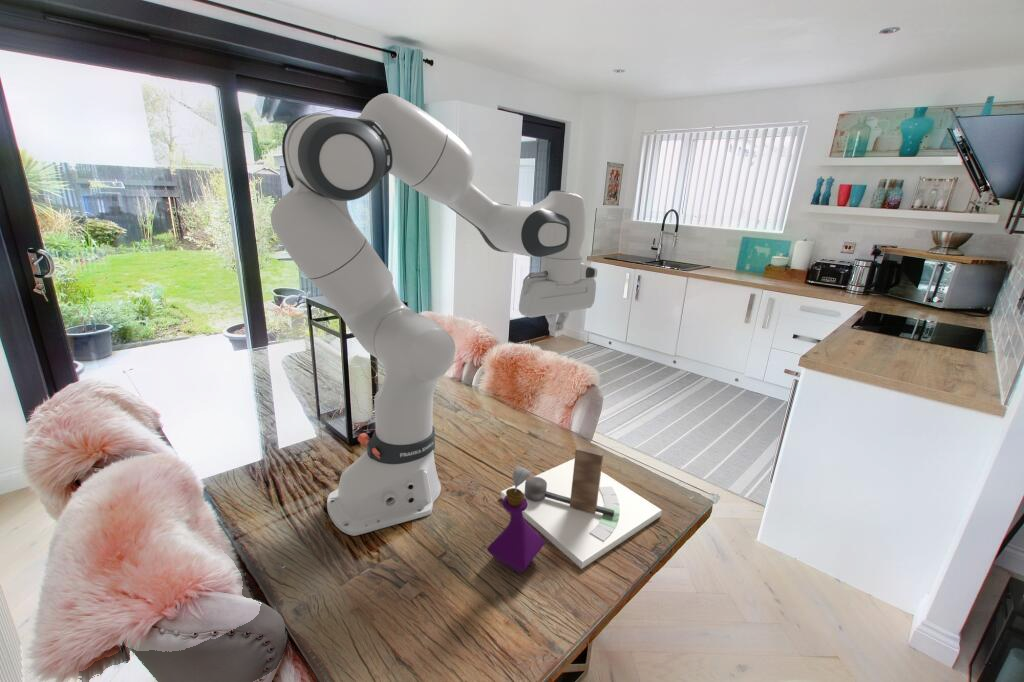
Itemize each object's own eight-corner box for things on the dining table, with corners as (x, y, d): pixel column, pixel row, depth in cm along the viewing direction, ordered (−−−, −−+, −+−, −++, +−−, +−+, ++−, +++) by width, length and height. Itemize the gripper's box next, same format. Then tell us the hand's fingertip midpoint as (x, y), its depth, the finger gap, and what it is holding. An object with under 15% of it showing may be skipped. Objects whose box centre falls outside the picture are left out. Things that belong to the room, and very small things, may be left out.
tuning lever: (521, 497, 91) (525, 441, 87) (528, 485, 95) (532, 430, 91) (611, 523, 85) (620, 464, 81) (615, 509, 89) (623, 452, 85)
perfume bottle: (523, 585, 73) (530, 491, 67) (485, 564, 76) (488, 474, 71) (545, 556, 79) (552, 468, 73) (509, 538, 83) (513, 453, 77)
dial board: (581, 568, 77) (582, 560, 76) (500, 497, 93) (501, 490, 93) (660, 516, 90) (662, 509, 90) (577, 462, 107) (578, 455, 107)
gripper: (534, 275, 89) (529, 342, 93) (602, 269, 101) (596, 328, 105) (514, 270, 93) (511, 334, 98) (582, 265, 106) (576, 321, 110)
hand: (555, 331), depth 102 cm, fingers closed
